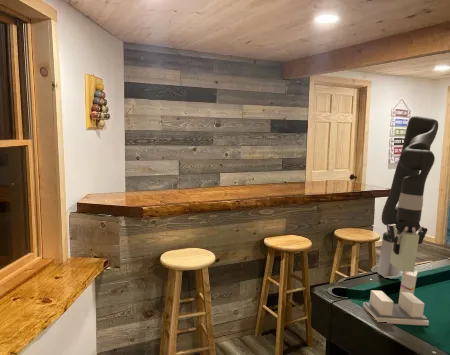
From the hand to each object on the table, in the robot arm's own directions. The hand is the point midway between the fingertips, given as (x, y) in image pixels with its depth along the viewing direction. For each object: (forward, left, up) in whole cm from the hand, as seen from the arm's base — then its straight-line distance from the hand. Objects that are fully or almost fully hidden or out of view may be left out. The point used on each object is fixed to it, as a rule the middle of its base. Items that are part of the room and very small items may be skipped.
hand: (403, 254), depth 130 cm
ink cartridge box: (-14, +12, -23) cm, 30 cm away
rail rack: (0, 0, -23) cm, 23 cm away
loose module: (0, 0, -5) cm, 5 cm away
